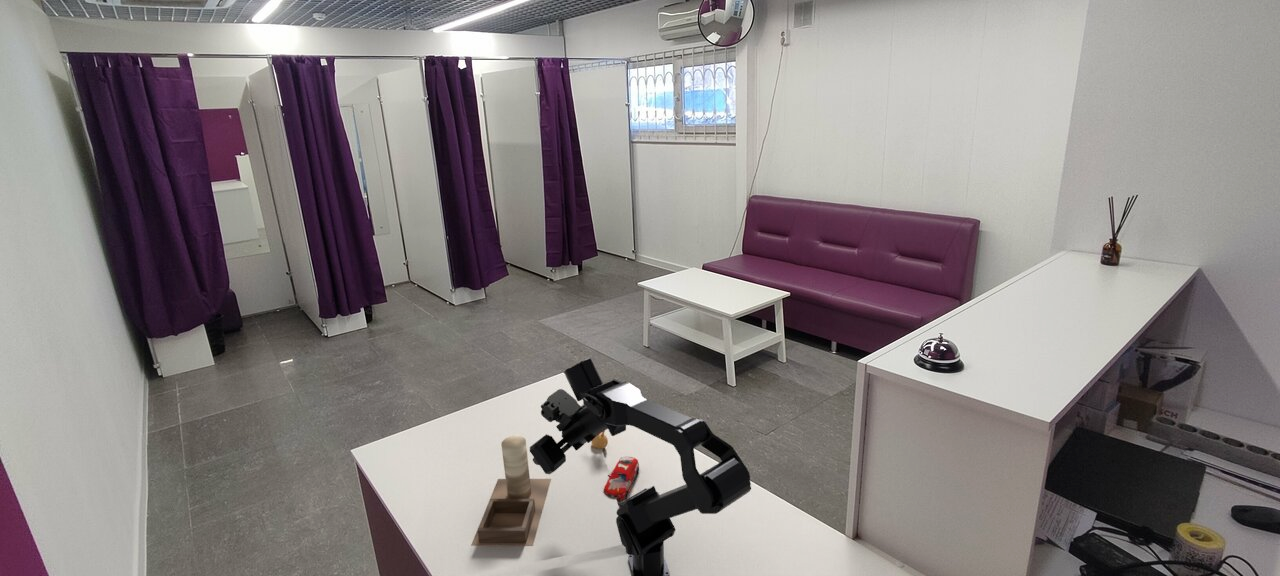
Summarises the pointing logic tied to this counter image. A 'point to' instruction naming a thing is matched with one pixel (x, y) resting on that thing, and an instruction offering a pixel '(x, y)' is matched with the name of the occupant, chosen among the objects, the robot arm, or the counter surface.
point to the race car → (622, 478)
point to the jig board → (512, 516)
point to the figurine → (600, 441)
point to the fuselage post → (516, 467)
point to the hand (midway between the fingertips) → (549, 449)
